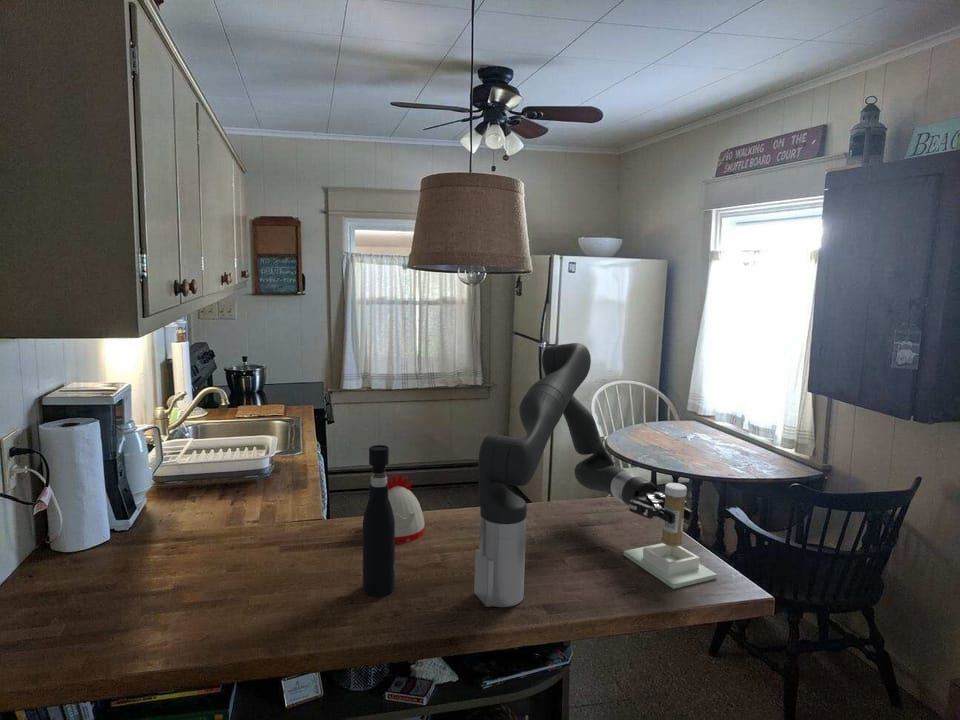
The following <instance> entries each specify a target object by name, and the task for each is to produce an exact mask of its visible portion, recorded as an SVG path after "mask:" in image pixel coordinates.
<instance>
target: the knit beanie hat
mask: <svg viewBox="0 0 960 720" xmlns="http://www.w3.org/2000/svg"><path fill="white" fill-rule="evenodd" d="M385 475H386V477H387V484H388V498H389V501H390V504H391V507H392V510H393V515H394V521H395V544H403V543H409V542H413V541H415V540H418V539H420V538H421V537H422V536H423V535H424V534H425V518H424V513H423V510H422V508H421V505H420V502H419V500H418V498H417V497H416V496H415V494H414V493H413V492H412V491H411V488H412V485H413V480H412V479H411V480H410V481H409V483H408V484H407V481H408V477H407V476H406V475H405V476H404V478H403V479H402V474H401V472H399V473H398V475H397V478H396V475H395V473H394V472H393V473H392V478H391V481H390V480H389V479H390V478H389V477H388V475H387V474H385ZM396 479H397V480H396ZM406 484H407V485H406Z"/></svg>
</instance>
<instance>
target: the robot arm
mask: <svg viewBox="0 0 960 720" xmlns="http://www.w3.org/2000/svg"><path fill="white" fill-rule="evenodd" d="M541 357H542V358H541V365H542V369H543V373H544V375H545V377H543V378H540V379H539V380H538V381H536V382H534V384H533V385H532V386H530V388H529V389H528V390H527V392H526V394H525V395H524V396H523V398H522V400H521V402H520V404H519V408H518V411H519V412H518V413H519V418H520V421H521V424H522V427H523V429H524V430H525V432H526V435H525V436H524V437H516V436H507V435H501V434H488V435H486V436H485V437H484V438H483V440H482V442H481V444H480V447H479V452H478V461H477V462H478V464H477V467H478V470H477V471H478V502H479V503H478V504H479V507H480V508H479V511H480V514H479V515H480V516H479V544H478V545H479V548H476V549H475V551H474V552H475V555H474V587H473V588H474V590H473V591H474V594H475V596H476V597H477V598H478V599H479V600H480V602H482V604H483V605H484V606H485V607H488V608H490V607H496V608H509V607H514V606H516V605H518V604H520V603H521V602H522V601H523V599H524V589H525V566H526V565H525V564H526V562H525V561H526V542H527V538H526V537H527V516H528V515H527V514H528V513H527V511H528V509H527V508H528V504H527V503H526V501H525V500H524V498H522V497H521V496H519V495H517V494H515V493H514V492H513V491H511V490H510V489H508V488H509V487H507V486H506V485H510V486H515V487H517V486H518V487H519V486H520V487H523V486H527V484H529V483H530V482H531V480H532V479H533V477H534V475H535V473H536V471H537V470H538V469H537V468H538V467H539V464H540V461H541V459H542V456H543V454H544V451H545V448H546V446H547V443H549V439H550V438H551V435H552V433H553V431H554V430H555V428H556V427H557V425H558V423H559V422H560V420H561V418H562V416H563V417H564V419H565V421H566V425H567V427H568V431H569V434H570V438H571V441H572V445H573V447H574V450H575V452H576V453H577V454H578V455H584V456H588V455H591V454H592V455H591V456H589V457H587V458H585V459H583V460H581V461H579V462H578V463H577V464H575V466H574V470H573V471H574V477H575V478H576V480H577V482H578V483H579V484H580V485H581V486H583V487H584V488H585V489H589V490H593V491H598V492H604V493H608V494H609V495H611V496H612V497H614V498H615V499H617V500H618V501H620V502H621V503H622V504H625V506H628V507H629V508H628V509H629V512H631V513H633V514H636V515H639V516H641V517H644V518H647V519H653V518H656V519H661V520H662V521H663V520H665V521H666V522H668V523H670V524H674V523H675V515H674V514H673V513H671V512H669V511H668V510H666V509H664V505H665V493H662V492H659V490H658V488H657V487H656V485H655V484H654V483H653V482H651V481H649V480H647V479H645V478H644V477H641V476H639V475H637V474H635V473H634V472H633V473H632V472H630V471H627V470H625V469H623V468H621V467H620V466H617V465H615V463H614V461H613V459H612V457H611V456H610V454H609V453H608V451H607V450H606V447H605V445H603V443H602V440H601V437H600V434H599V430H598V427H597V423H596V421H595V418H594V417H593V415H592V413H591V412H590V410H588V408H586V407H585V406H584V404H583V403H581V402H580V401H579V400H578V399H577V397H575V395H574V394H575V392H576V391H577V390H578V388H579V387H580V386H581V385H582V384H583V382H584V381H585V379H587V377H588V374H589V372H590V369H591V364H592V363H591V362H592V358H591V353H590V351H589V349H588V347H587V346H586V345H584V343H583V344H582V343H580V342H571V343H565V344H564V343H562V344H558V345H557V344H556V345H550V346H547V347H546V348H545V349H543V353H542V356H541ZM693 512H694V511H693V510H691V509H689V508H687V500H685V506H684V520H686V521H689V522H690V521H692V520H693V515H694V513H693Z"/></svg>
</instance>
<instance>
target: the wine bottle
mask: <svg viewBox="0 0 960 720" xmlns="http://www.w3.org/2000/svg"><path fill="white" fill-rule="evenodd" d="M389 448H390V447H389V446H387V445H382V444H377V445H375V444H374V445H372V446H369V448H368V464H369V465H370V466H372V471H371V473H372V475H371V476H370V484H369V487H368V488H369V495H368V497H369V498H368V501H367V504H366V506H365V511H364V514H363V520H362V590H363V591H362V592H363V593H364V594H365V595H367V596H371V597H385V596H388V595H390V594H391V593H393V592H394V591H395V570H396V569H395V566H396V565H395V564H396V563H395V561H396V560H395V559H396V557H395V555H396V553H395V551H396V550H395V548H396V547H395V546H396V543H395V521H394V515H393V510H392V507H391V504H390V501H389V498H388V484H387V477H386V475H387V474H386V473H387V472H386V471H387V470H386V466H388V465H389V463H390V462H389V458H390V455H389V453H390V451H389Z"/></svg>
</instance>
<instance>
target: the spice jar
mask: <svg viewBox="0 0 960 720" xmlns="http://www.w3.org/2000/svg"><path fill="white" fill-rule="evenodd" d="M687 491H688V489H687V486H686V485H684V484H682V483H678V482H668V483H666V484H665V489H664V494H665V505H664V509H666V510H668V511H669V512H671V513H673V514H674V515H675V523H674V524H670V523H668V522H666V521H665V520H663V519H662V533H661V543H664V544H666V545H668V546H673V547H676V546H681V545H682V544H683V530H684V521H685V518H684V506H685V501H686V496H687Z"/></svg>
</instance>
